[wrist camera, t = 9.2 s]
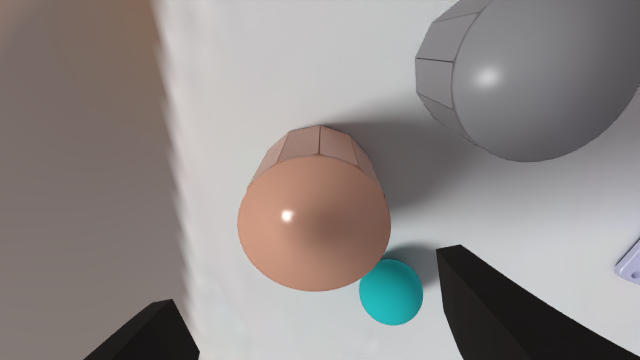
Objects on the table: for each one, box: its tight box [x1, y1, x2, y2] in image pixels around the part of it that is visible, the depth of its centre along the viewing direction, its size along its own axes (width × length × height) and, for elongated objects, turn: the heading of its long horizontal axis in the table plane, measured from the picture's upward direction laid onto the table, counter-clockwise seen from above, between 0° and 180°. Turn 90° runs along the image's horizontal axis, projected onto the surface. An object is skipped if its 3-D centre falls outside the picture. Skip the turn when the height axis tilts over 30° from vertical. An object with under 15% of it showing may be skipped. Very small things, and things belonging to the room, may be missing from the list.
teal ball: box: [359, 259, 423, 325], centre depth 18 cm, size 3×3×3 cm
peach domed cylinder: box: [237, 125, 391, 291], centre depth 15 cm, size 6×6×5 cm
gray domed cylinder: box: [415, 0, 640, 162], centre depth 13 cm, size 6×6×5 cm
